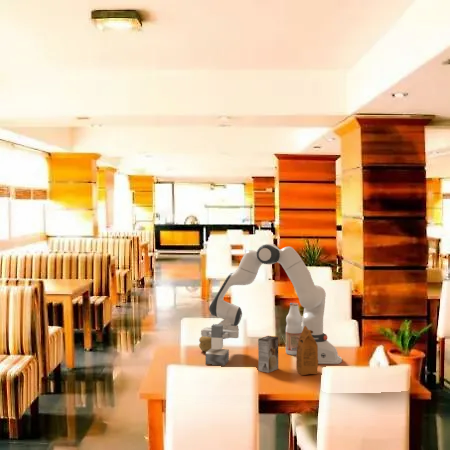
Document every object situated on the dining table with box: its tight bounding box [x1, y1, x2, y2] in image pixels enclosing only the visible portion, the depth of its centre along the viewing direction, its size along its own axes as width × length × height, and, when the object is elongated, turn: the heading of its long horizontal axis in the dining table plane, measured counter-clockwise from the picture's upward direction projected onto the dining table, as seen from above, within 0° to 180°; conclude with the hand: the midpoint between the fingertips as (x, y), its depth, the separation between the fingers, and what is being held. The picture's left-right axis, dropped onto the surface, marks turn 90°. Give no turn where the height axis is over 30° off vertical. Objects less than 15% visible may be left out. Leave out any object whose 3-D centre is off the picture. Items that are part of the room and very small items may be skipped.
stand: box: [205, 348, 230, 367], centre depth 293 cm, size 10×10×6 cm
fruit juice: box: [285, 302, 303, 356], centre depth 312 cm, size 9×9×28 cm
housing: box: [210, 323, 224, 349], centre depth 292 cm, size 5×5×12 cm
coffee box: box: [257, 335, 279, 374], centre depth 279 cm, size 9×6×16 cm
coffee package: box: [295, 326, 319, 376], centre depth 275 cm, size 10×12×22 cm
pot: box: [198, 335, 211, 353], centre depth 316 cm, size 12×12×10 cm
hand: (216, 336), depth 292 cm, fingers closed on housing, 5 cm apart
